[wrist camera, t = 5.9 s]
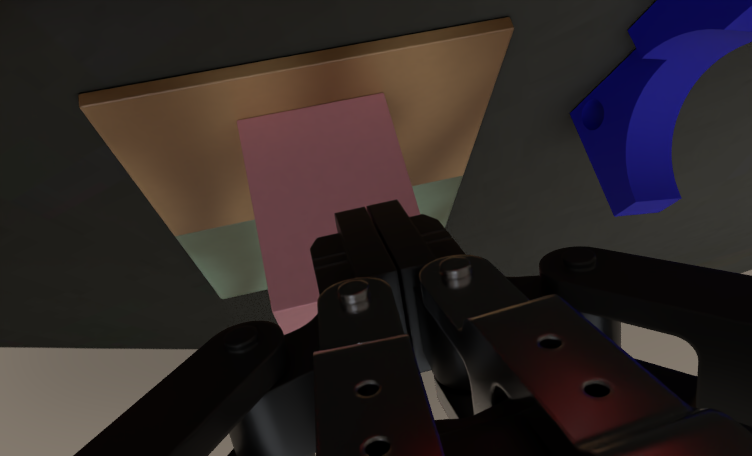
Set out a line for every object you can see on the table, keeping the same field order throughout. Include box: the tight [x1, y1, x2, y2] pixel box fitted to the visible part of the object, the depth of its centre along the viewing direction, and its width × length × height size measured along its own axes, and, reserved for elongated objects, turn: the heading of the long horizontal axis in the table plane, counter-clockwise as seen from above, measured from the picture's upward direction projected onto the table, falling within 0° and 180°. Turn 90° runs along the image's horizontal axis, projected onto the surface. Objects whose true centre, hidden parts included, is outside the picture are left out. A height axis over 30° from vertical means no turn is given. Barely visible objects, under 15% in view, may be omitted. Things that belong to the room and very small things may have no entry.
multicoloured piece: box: [78, 17, 514, 299], centre depth 33 cm, size 16×24×1 cm, turn 0°
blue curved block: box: [570, 0, 752, 216], centre depth 26 cm, size 12×4×6 cm, turn 162°
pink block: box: [237, 93, 420, 335], centre depth 25 cm, size 6×6×8 cm
